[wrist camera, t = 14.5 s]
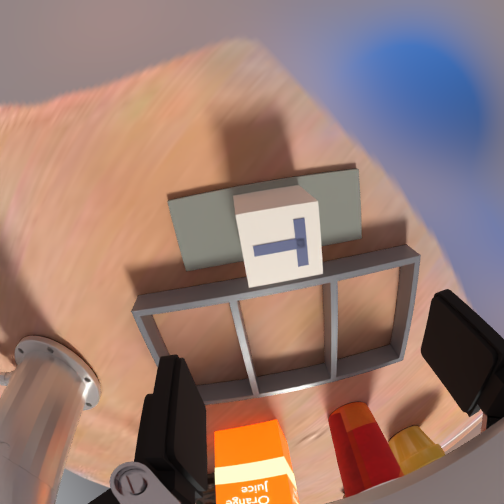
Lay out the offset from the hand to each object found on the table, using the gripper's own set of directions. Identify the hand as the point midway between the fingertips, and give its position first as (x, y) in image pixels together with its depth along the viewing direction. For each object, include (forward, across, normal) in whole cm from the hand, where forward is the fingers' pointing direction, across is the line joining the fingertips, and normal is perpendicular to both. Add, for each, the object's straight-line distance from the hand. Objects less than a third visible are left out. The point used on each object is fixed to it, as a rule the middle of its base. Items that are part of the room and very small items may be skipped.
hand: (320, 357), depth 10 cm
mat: (+15, -1, 0) cm, 15 cm away
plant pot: (+15, -21, +46) cm, 53 cm away
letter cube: (+14, -1, 0) cm, 15 cm away
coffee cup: (+15, -8, +30) cm, 34 cm away
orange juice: (+16, +6, +31) cm, 35 cm away
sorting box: (+15, -1, +11) cm, 19 cm away
